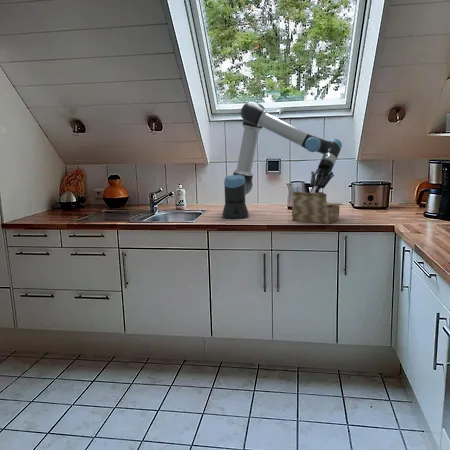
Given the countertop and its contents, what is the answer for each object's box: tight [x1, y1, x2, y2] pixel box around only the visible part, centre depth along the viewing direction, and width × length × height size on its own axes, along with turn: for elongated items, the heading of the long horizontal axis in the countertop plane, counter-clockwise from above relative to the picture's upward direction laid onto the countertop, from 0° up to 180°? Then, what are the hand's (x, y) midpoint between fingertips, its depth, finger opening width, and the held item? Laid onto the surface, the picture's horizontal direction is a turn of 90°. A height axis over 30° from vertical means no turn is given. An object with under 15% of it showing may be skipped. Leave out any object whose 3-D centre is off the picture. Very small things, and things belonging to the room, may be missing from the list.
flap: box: [292, 191, 328, 208], centre depth 232 cm, size 19×1×7 cm, turn 51°
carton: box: [291, 201, 344, 225], centre depth 241 cm, size 22×19×8 cm
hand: (312, 197), depth 234 cm, fingers closed
